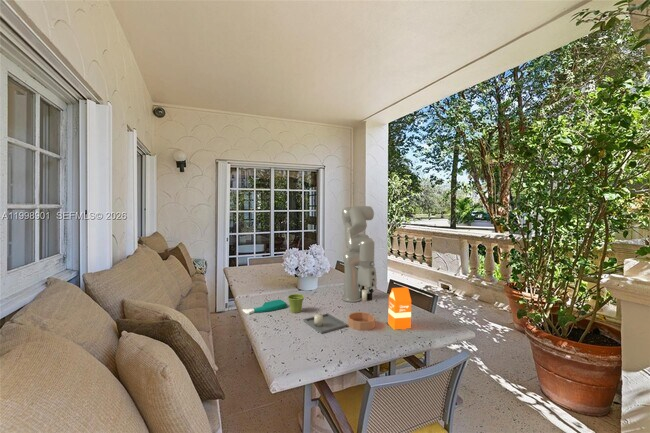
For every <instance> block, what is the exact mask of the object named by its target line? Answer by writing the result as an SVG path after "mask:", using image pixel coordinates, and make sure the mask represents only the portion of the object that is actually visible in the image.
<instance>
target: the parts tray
mask: <svg viewBox="0 0 650 433" xmlns="http://www.w3.org/2000/svg"><path fill="white" fill-rule="evenodd" d="M322 315H323V326H322V327H316V326H314V316H311V317H307V318H303V320H302V322H304V324H306V325H307V326H310V328H312V329H314V330H315V331H316V332H318V333H319V334H321V335H322V334H326V333H328V332H329V333H330V332H333V331H336V330H340V329H343V328H344V329H345V328H347V327H348V323H346V322H344V321H343V320H340V319H339V318H337V317H335V316H333V315H332V314H330V313H322Z"/></svg>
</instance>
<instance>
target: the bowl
mask: <svg viewBox="0 0 650 433" xmlns="http://www.w3.org/2000/svg"><path fill="white" fill-rule="evenodd" d="M375 326H376V317H375V316H374V315H373V314H371V313H369V312H364V311H355V312H351V313H349V314H348V315H347V327H349V328H351V330H352V329H353V330H356V331H360V332H361V331H370V330H373V329H374V328H375Z"/></svg>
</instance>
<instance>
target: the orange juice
mask: <svg viewBox="0 0 650 433" xmlns="http://www.w3.org/2000/svg"><path fill="white" fill-rule="evenodd" d="M387 312H388V317H387V318H388V319H387V320H388V321H387V325H389V327H391V328H392V329H393V330H394V331H396V330H395V329H402V330H407V329H406V328H411V326H412V322H411V321H412V298H411V294H410V290H409V287H408V286H405V287H391V291H390V293H389V295H388V310H387Z"/></svg>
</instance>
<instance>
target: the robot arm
mask: <svg viewBox="0 0 650 433" xmlns="http://www.w3.org/2000/svg"><path fill="white" fill-rule="evenodd" d="M374 216H375V211H374V209H373V207H372V206H368V205H366V206H365V205H355V206H348V207H344V208H342V210H341V219H342V222H343V224H344V228H345V230H344V232H345V233H344V234H345V236H344V237H345V241H344V242H345V247H346V248H347V249H348V251H345V252H344V253H343V255H342V256H343V264H344V265H343V266H344V282H343V283H344V288H343V289H344V290H343V295H342V296H341V301H345V302H348V303H357V302H360V301H362V290H363V289H367V290H368V293H367V301H366V302H371V301H373V293H374V292H375V291H376V290H378V287H377V285H378V284H377V283H378V282H377V271H376V267H375V241H374V240H373V238H370V237H369V235H368V234H367V233H366V234H365V233H362V232H365V230H366V229H367V227H368V225H367V221H372V220H373V219H374V218H375V217H374ZM361 233H362V234H361ZM357 267H358V268H357Z"/></svg>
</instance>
